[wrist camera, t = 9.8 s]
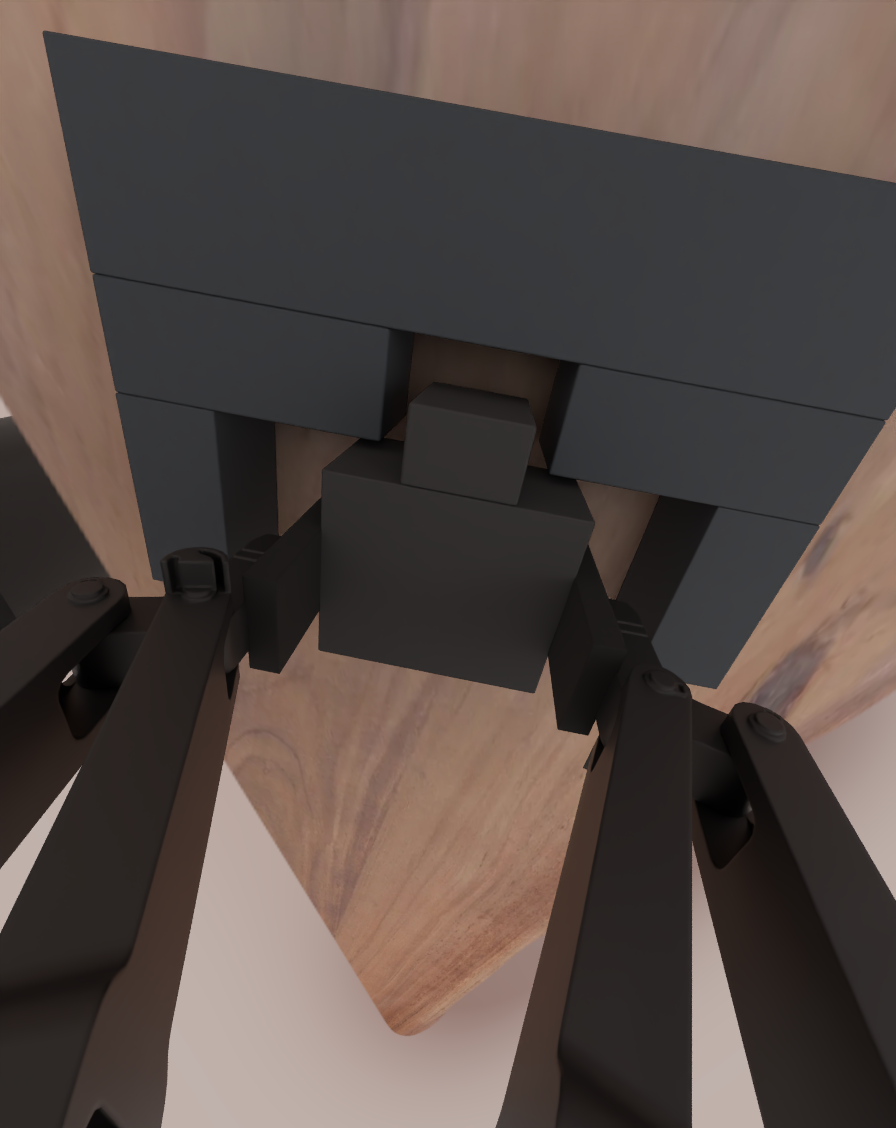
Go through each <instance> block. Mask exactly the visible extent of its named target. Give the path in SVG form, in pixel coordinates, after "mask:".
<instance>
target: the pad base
mask: <svg viewBox="0 0 896 1128" xmlns="http://www.w3.org/2000/svg"><path fill="white" fill-rule="evenodd" d="M43 37H44V42H45V47H46V52H47V57H48V62H49V67H50V72H51V77H52V82H53V87H54V92H55V97H56V101H57V106H58V111H59V116H60V121H61V126H62V131H63V136H64V141H65V146H66V151H67V156H68V161H69V166H70V171H71V176H72V181H73V186H74V191H75V196H76V200H77V205H78V210H79V215H80V220H81V225H82V230H83V235H84V240H85V245H86V250H87V255H88V260H89V265H90V270H91V272H93V273H96V274H94V275H93V281H94V286H95V291H96V296H97V301H98V306H99V311H100V316H101V321H102V326H103V331H104V336H105V341H106V346H107V351H108V356H109V361H110V366H111V371H112V376H113V381H114V386H115V390H116V391H117V392H118V393H116V398H117V403H118V408H119V413H120V418H121V423H122V428H123V433H124V438H125V443H126V448H127V453H128V458H129V463H130V468H131V473H132V478H133V482H134V487H135V492H136V497H137V502H138V507H139V512H140V517H141V522H142V527H143V532H144V537H145V542H146V547H147V552H148V557H149V562H150V567H151V572H152V577H153V579H154V580H159V581H163V576H162V571H161V565H160V561H161V560H162V559H163V558H164V557H165V556H166V555H168V554H170V553H172V552H174V551H176V550H181V549H185V548H191V547H207V548H214V549H217V550H220V551H222V552H224V553H225V554H226V555H227V556H228V560H229V559H230V558H231V557H232V558H233V557H234V555H235V554H236V553H237V552H238V551H239V550H242V548H243V547H244V546H245V545H246V544H247V543H248V542H250V541H251V540H252V539H254V538H257V537H259V536H262V535H264V534H267V533H268V534H273V535H278V514H277V485H276V456H275V426H274V422H278V423H283V424H288V425H293V426H299V427H304V428H309V429H315V430H320V431H325V432H330V433H336V434H341V435H346V436H352V437H357V438H362V439H367V440H373V441H380V440H381V439H382V438H383V437H384V436H385V435H386V434H387V433H388V432H389V431H390V430H391V429H392V428H393V427H394V426H395V425H396V424H397V423H398V422H399V421H400V420H401V419H402V418H403V417H404V416H405V414H406V405H407V396H408V387H409V377H410V368H411V359H412V350H413V341H414V333H418V334H424V335H429V336H434V337H440V338H445V339H450V340H456V341H461V342H467V343H472V344H477V345H483V346H488V347H493V348H499V349H504V350H510V351H515V352H520V353H526V354H531V355H536V356H542V357H547V358H553V359H558V360H560V362H559V366H558V369H557V373H556V377H555V381H554V385H553V389H552V392H551V396H550V400H549V404H548V408H547V411H546V415H545V419H544V423H543V427H542V431H541V434H540V438H539V442H540V445H541V449H542V452H543V455H544V458H545V462H546V465H547V468H548V471H549V474H551V475H556V476H562V477H567V478H572V479H577V480H583V481H588V482H593V483H599V484H604V485H609V486H614V487H620V488H625V489H630V490H635V491H641V492H646V493H651V494H657V495H661V496H660V498H659V500H658V503H657V505H656V507H655V510H654V512H653V515H652V517H651V519H650V522H649V524H648V526H647V529H646V531H645V533H644V536H643V538H642V541H641V543H640V545H639V548H638V550H637V552H636V555H635V557H634V559H633V562H632V564H631V566H630V569H629V571H628V574H627V576H626V578H625V581H624V583H623V585H622V588H621V590H620V592H619V595H618V597H617V600H618V601H623V602H627V603H628V604H629V605H630V606H631V607H632V608H633V609H634V610H635V611H636V612H637V613H638V614H639V617H640V619H641V621H642V623H643V625H644V626H643V628H645V630H646V632H647V634H648V638H649V639H650V641H651V643H652V645H653V647H654V650H655V652H656V654H657V656H658V658H659V661H660V663H661V665H662V667H663V668H665V669H667V670H669V671H671V672H673V673H674V674H676V675H677V676H678V677H679V678H681V679H682V680H683V681H684V682H685V683H687V684H692V685H697V686H702V687H708V688H713V689H717V687H718V686H719V684H720V683H721V681H722V680H723V678H724V676H725V675H726V673H727V672H728V670H729V669H730V667H731V665H732V664H733V662H734V661H735V659H736V658H737V656H738V654H739V653H740V651H741V650H742V648H743V647H744V645H745V643H746V642H747V640H748V639H749V637H750V636H751V634H752V632H753V631H754V629H755V628H756V626H757V625H758V623H759V621H760V620H761V618H762V617H763V615H764V614H765V612H766V610H767V609H768V607H769V606H770V604H771V603H772V601H773V599H774V598H775V596H776V595H777V593H778V592H779V590H780V588H781V587H782V585H783V584H784V582H785V581H786V579H787V578H788V576H789V574H790V573H791V571H792V570H793V568H794V567H795V565H796V563H797V562H798V560H799V559H800V557H801V556H802V554H803V552H804V551H805V549H806V548H807V546H808V545H809V543H810V541H811V540H812V538H813V537H814V535H815V534H816V532H817V530H818V529H819V526H818V525H820V524H821V523H822V522H823V520H824V519H825V517H826V516H827V514H828V512H829V511H830V509H831V508H832V506H833V505H834V503H835V501H836V500H837V498H838V497H839V495H840V494H841V492H842V490H843V489H844V487H845V486H846V484H847V483H848V481H849V479H850V478H851V476H852V475H853V473H854V472H855V470H856V468H857V467H858V465H859V464H860V462H861V461H862V459H863V457H864V456H865V454H866V453H867V451H868V450H869V448H870V446H871V445H872V443H873V442H874V440H875V439H876V437H877V435H878V434H879V432H880V431H881V429H882V428H883V426H884V424H885V421H884V420H888V419H889V417H890V416H891V414H892V413H893V411H894V409H895V408H896V183H893V182H887V181H882V180H876V179H871V178H865V177H859V176H854V175H848V174H843V173H837V172H831V171H826V170H820V169H815V168H809V167H804V166H798V165H792V164H787V163H781V162H776V161H770V160H764V159H759V158H753V157H748V156H742V155H737V154H731V153H725V152H720V151H714V150H709V149H703V148H697V147H692V146H686V145H681V144H675V143H670V142H664V141H658V140H653V139H647V138H642V137H636V136H631V135H625V134H619V133H614V132H608V131H603V130H597V129H591V128H586V127H580V126H575V125H569V124H564V123H558V122H552V121H547V120H541V119H536V118H530V117H524V116H519V115H513V114H508V113H502V112H497V111H491V110H485V109H480V108H474V107H469V106H463V105H457V104H452V103H446V102H441V101H435V100H430V99H424V98H418V97H413V96H407V95H402V94H396V93H390V92H385V91H379V90H374V89H368V88H363V87H357V86H351V85H346V84H340V83H335V82H329V81H323V80H318V79H312V78H307V77H301V76H296V75H290V74H284V73H279V72H273V71H268V70H262V69H256V68H251V67H245V66H240V65H234V64H229V63H223V62H217V61H212V60H206V59H201V58H195V57H189V56H184V55H178V54H173V53H167V52H162V51H156V50H150V49H145V48H139V47H134V46H128V45H123V44H117V43H111V42H106V41H100V40H95V39H89V38H83V37H78V36H72V35H67V34H61V33H56V32H50V31H43Z"/></svg>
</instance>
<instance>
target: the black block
mask: <svg viewBox="0 0 896 1128" xmlns="http://www.w3.org/2000/svg"><path fill="white" fill-rule="evenodd" d="M535 434H536V425H535V421H534V418H533V414H532V411H531V408H530V404H529V401H528V400H527V399H525V398H519V397H514V396H509V395H503V394H498V393H493V392H488V391H482V390H477V389H472V388H466V387H461V386H456V385H451V384H445V383H440V382H433V383H432V384H431V385H429V386H428V387H427V388H426V389H425V390H424V391H423V392H422V393H420V394H419V395H418V396H417V397H416V398H415V399H414V400H413V401H411V402H410V404H409V406H408V415H407V424H406V433H405V442H402V441H397V440H392V439H387V438H382V439H381V440H380V441H373V440H367V439H362V438H360V439H359V440H358V441H357V442H355V443H354V444H353V445H352V446H351V447H349V448H348V449H347V450H346V451H345V452H343V453H342V454H341V455H340V456H339V457H337V458H336V459H335V460H334V461H333V462H331V463H330V464H329V465H328V466H327V467H325V468H324V469H323V470H322V497H321V529H322V531H321V579H320V610H319V647H318V649H319V650H320V651H325V652H330V653H335V654H340V655H345V656H350V657H354V658H359V659H364V660H369V661H374V662H379V663H384V664H389V665H394V666H399V667H404V668H409V669H414V670H419V671H424V672H429V673H434V674H439V675H444V676H449V677H454V678H459V679H464V680H469V681H474V682H479V683H484V684H489V685H494V686H499V687H504V688H509V689H514V690H519V691H524V692H529V693H535V690H536V688H537V685H538V682H539V679H540V676H541V674H542V671H543V668H544V665H545V663H546V660H547V657H548V653H549V650H550V648H551V645H552V642H553V639H554V636H555V634H556V631H557V628H558V625H559V622H560V619H561V617H562V614H563V611H564V608H565V605H566V603H567V600H568V597H569V594H570V591H571V589H572V586H573V583H574V580H575V578H576V576H577V573H578V570H579V567H580V565H581V562H582V559H583V556H584V553H585V551H586V548H587V545H588V542H589V539H590V537H591V534H592V531H593V528H594V525H595V522H594V519H593V517H592V515H591V513H590V510H589V508H588V506H587V504H586V501H585V499H584V497H583V495H582V492H581V490H580V488H579V486H578V483H577V481H576V479H572V478H567V477H562V476H556V475H551V474H549V471H548V469H543V468H538V467H533V466H528V461H529V457H530V453H531V449H532V445H533V441H534V437H535Z"/></svg>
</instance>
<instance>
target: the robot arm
mask: <svg viewBox="0 0 896 1128" xmlns="http://www.w3.org/2000/svg"><path fill="white" fill-rule="evenodd" d="M321 531H322V529H321V498H320V499H319V500H318V501H317V502H316V503H315V504H314V505H313V506H312V507H311V508H310V509H309V510H308V511H307V512H306V513H305V514H304V515H303V516H302V517H301V518H300V519H299V520H298V521H297V522H296V523H295V524H294V525H293V526H292V527H291V528H289V529H288V530H287V531H286V532H285V533H284V534H283V535H282V536H278V535H273V534H268V533H267V534H264V535H262V536H259V537H257V538H254V539H252V540H251V541H250V542H248V543H247V544H246V545H245V546H244V547H243V548H242V550H239V551H238V552H237V553H236V554H235V555H234V557H233V558H232V557H231V558H230V559H229V560H228V556H227V555H226V554H225V553H224V552H222V551H220V550H217V549H214V548H207V547H191V548H185V549H181V550H176V551H174V552H172V553H170V554H168V555H166V556H165V557H164V558H163V559H162V560H161V561H160V565H161V571H162V576H163V581H164V587H165V592H166V594H165V596H164V597H128V593H127V589H126V585H125V584H124V583H122V582H121V581H120V580H116V579H112V578H100V577H94V578H85V579H81V580H78V581H75V582H72V583H69V584H66V585H64V586H62V587H61V588H59V589H57V590H55V591H54V592H53V593H51V594H50V595H48V596H47V597H46V598H44V599H43V600H42V601H40V602H39V603H37V604H36V605H35V606H33V607H32V608H31V609H29V610H28V611H27V612H25V613H24V614H22V615H21V616H20V617H18V618H17V619H16V620H14V621H13V622H11V623H10V624H9V625H7V626H6V627H5V628H3V629H2V630H1V631H0V869H1V867H2V866H3V865H4V863H5V862H6V861H7V860H8V858H9V857H10V856H11V855H12V853H13V852H14V851H15V850H16V848H17V847H18V846H19V844H20V843H21V842H22V841H23V839H24V838H25V837H26V836H27V834H28V833H29V832H30V831H31V829H32V828H33V827H34V825H35V824H36V823H37V822H38V820H39V819H40V818H41V817H42V815H43V814H44V813H45V812H46V810H47V809H48V808H49V806H50V805H51V804H52V803H53V801H54V800H55V798H57V796H58V795H59V794H60V793H61V791H62V790H63V789H64V787H65V786H66V785H67V784H68V782H69V781H70V780H71V779H72V777H73V776H74V775H75V774H76V772H77V771H78V770H79V768H80V767H81V766H82V767H81V769H80V771H79V773H78V775H77V777H76V779H75V781H74V783H73V785H72V787H71V789H70V791H69V793H68V795H67V797H66V799H65V802H64V804H63V806H62V808H61V810H60V812H59V814H58V816H57V818H56V820H55V822H54V824H53V826H52V828H51V831H50V832H49V835H48V836H47V838H46V840H45V843H44V845H43V847H42V849H41V851H40V853H39V855H38V857H37V859H36V861H35V863H34V865H33V867H32V869H31V871H30V874H29V875H28V877H27V880H26V882H25V884H24V886H23V888H22V890H21V892H20V894H19V896H18V898H17V900H16V902H15V904H14V906H13V908H12V910H11V912H10V915H9V916H8V919H7V921H6V923H5V925H4V927H3V929H2V931H1V933H0V1128H161V1124H162V1117H163V1111H164V1104H165V1096H166V1087H167V1070H168V1048H169V1038H170V1032H171V1027H172V1021H173V1016H174V1011H175V1006H176V1001H177V996H178V990H179V985H180V980H181V975H182V970H183V965H184V960H185V954H186V950H187V944H188V939H189V934H190V929H191V924H192V919H193V913H194V909H195V904H196V898H197V893H198V888H199V882H200V878H201V873H202V867H203V863H204V857H205V852H206V847H207V842H208V837H209V832H210V827H211V822H212V816H213V811H214V806H215V801H216V796H217V791H218V786H219V781H220V775H221V770H222V765H223V760H224V755H225V750H226V745H227V740H228V735H229V730H230V725H231V719H232V714H233V709H234V704H235V699H236V694H237V689H238V684H239V678H240V674H239V662H240V661H241V660H242V658H243V657H244V656H245V654H246V653H247V652H248V653H249V665H250V668H253V669H258V670H263V671H268V672H273V673H278V674H280V672H281V671H282V669H283V667H284V666H285V664H286V663H287V661H288V659H289V658H290V656H291V655H292V653H293V652H294V650H295V648H296V647H297V645H298V644H299V642H300V640H301V639H302V637H303V636H304V634H305V632H306V631H307V629H308V628H309V626H310V624H311V623H312V621H313V620H314V618H315V616H316V615H317V613H318V612H319V610H320V579H321ZM643 626H644V625H643V623H642V621H641V619H640V617H639V614H638V613H637V612H636V611H635V610H634V609H633V608H632V607H631V606H630V605H629V604H628V603H627V602H623V601H618V600H613V599H608V596H607V594H606V591H605V588H604V586H603V583H602V580H601V577H600V575H599V572H598V569H597V567H596V564H595V561H594V559H593V556H592V553H591V551H590V548H589V545H587V548H586V551H585V553H584V556H583V559H582V562H581V565H580V567H579V570H578V573H577V576H576V578H575V580H574V583H573V586H572V589H571V591H570V594H569V597H568V600H567V603H566V605H565V608H564V611H563V614H562V617H561V619H560V622H559V625H558V628H557V631H556V634H555V636H554V639H553V642H552V645H551V648H550V650H549V653H548V659H549V667H550V674H551V682H552V690H553V697H554V705H555V713H556V720H557V728H558V730H563V731H568V732H573V733H578V734H583V735H589V733H590V731H591V728H592V726H593V724H594V722H595V720H596V722H597V726H598V730H599V736H598V738H597V740H596V742H595V744H594V746H593V748H592V750H591V752H590V755H589V757H588V759H587V761H586V763H585V765H584V767H583V768H585V769H587V773H586V777H585V781H584V785H583V789H582V793H581V797H580V801H579V805H578V809H577V813H576V817H575V821H574V825H573V829H572V833H571V837H570V841H569V845H568V849H567V853H566V857H565V861H564V865H563V869H562V872H561V876H560V880H559V884H558V888H557V892H556V896H555V900H554V904H553V908H552V912H551V916H550V920H549V924H548V928H547V932H546V936H545V940H544V944H543V948H542V952H541V956H540V960H539V964H538V968H537V972H536V976H535V980H534V984H533V988H532V992H531V996H530V1000H529V1004H528V1008H527V1011H526V1015H525V1019H524V1024H523V1027H522V1032H521V1036H520V1040H519V1044H518V1047H517V1051H516V1055H515V1059H514V1063H513V1067H512V1071H511V1075H510V1079H509V1083H508V1087H507V1091H506V1095H505V1099H504V1102H503V1106H502V1110H501V1113H500V1116H499V1119H498V1122H497V1125H496V1128H692V842H693V846H694V850H695V854H696V858H697V862H698V866H699V870H700V874H701V878H702V882H703V886H704V890H705V894H706V898H707V902H708V906H709V910H710V914H711V918H712V922H713V926H714V929H715V934H716V937H717V942H718V946H719V950H720V953H721V957H722V961H723V965H724V969H725V973H726V977H727V981H728V985H729V989H730V993H731V997H732V1001H733V1005H734V1009H735V1013H736V1017H737V1021H738V1025H739V1029H740V1033H741V1037H742V1041H743V1044H744V1049H745V1053H746V1056H747V1061H748V1064H749V1069H750V1072H751V1076H752V1080H753V1084H754V1088H755V1092H756V1096H757V1100H758V1104H759V1108H760V1112H761V1116H762V1120H763V1124H764V1128H896V900H895V899H894V897H893V895H892V894H891V892H890V890H889V888H888V887H887V885H886V883H885V881H884V880H883V878H882V876H881V874H880V873H879V871H878V870H877V868H876V866H875V864H874V863H873V861H872V859H871V857H870V856H869V854H868V852H867V850H866V849H865V847H864V845H863V844H862V842H861V840H860V839H859V837H858V835H857V833H856V832H855V830H854V828H853V826H852V825H851V823H850V821H849V819H848V818H847V816H846V814H845V813H844V811H843V809H842V808H841V806H840V804H839V802H838V801H837V799H836V797H835V796H834V794H833V792H832V790H831V789H830V787H829V785H828V783H827V782H826V780H825V778H824V777H823V775H822V773H821V771H820V770H819V768H818V766H817V764H816V763H815V761H814V759H813V758H812V756H811V754H810V753H809V751H808V749H807V747H806V746H805V744H804V742H803V740H802V739H801V737H800V736H799V734H798V733H797V732H796V730H795V729H794V728H793V727H792V726H791V725H790V724H789V723H788V722H787V721H785V720H784V719H783V718H782V717H781V716H779V715H778V714H776V713H774V712H773V711H771V710H769V709H767V708H764V707H762V706H759V705H756V704H753V703H746V702H742V703H738V704H735V705H734V707H733V708H732V710H731V711H730V713H729V714H726V713H723V712H721V711H719V710H716V709H714V708H711V707H709V706H707V705H704V704H702V703H700V702H698V701H696V700H694V699H692V695H691V692H690V689H689V687H688V686H687V685H686V684H685V682H684V681H683V680H682V679H681V678H679V677H678V676H677V675H676V674H674V673H673V672H671V671H669V670H667V669H665V668H663V667H662V665H661V663H660V661H659V658H658V656H657V654H656V652H655V650H654V647H653V645H652V643H651V641H650V639H649V638H648V634H647V632H646V630H645V628H643ZM71 670H72V672H73V674H72V675H71V676H70V677H69V678H68V679H67V680H66V681H65V682H63V683H62V681H63V679H64V678H65V677H66V675H67V674H68V673H69V672H70V671H71Z"/></svg>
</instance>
